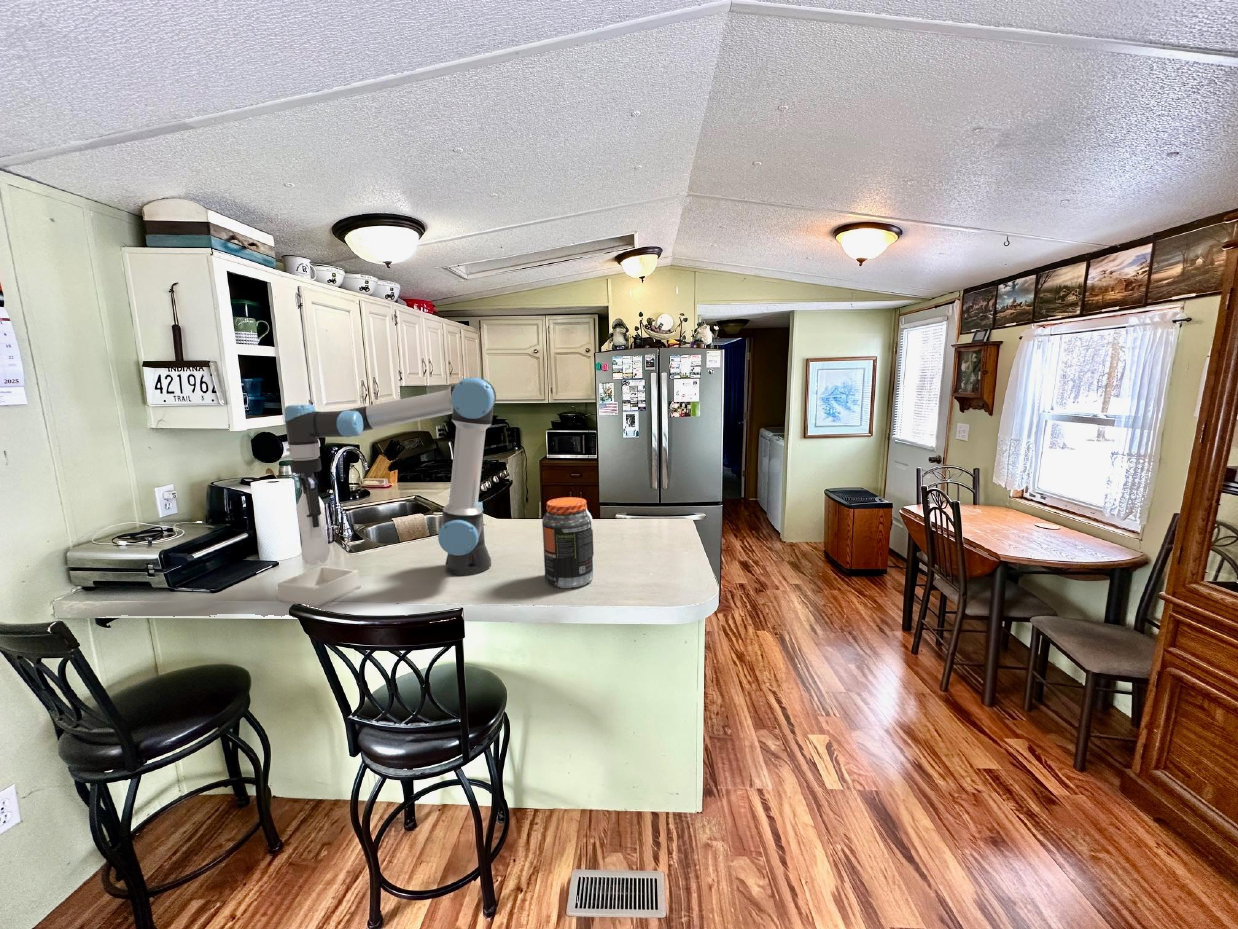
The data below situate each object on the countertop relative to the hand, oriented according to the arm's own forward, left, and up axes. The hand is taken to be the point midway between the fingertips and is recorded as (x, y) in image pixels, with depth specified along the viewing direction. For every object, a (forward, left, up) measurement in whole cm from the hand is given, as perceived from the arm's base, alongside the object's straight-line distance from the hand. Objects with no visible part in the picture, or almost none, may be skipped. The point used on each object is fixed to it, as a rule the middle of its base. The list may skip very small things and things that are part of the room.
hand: (313, 534), depth 149 cm
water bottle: (0, 0, -9) cm, 9 cm away
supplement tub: (-68, -32, -19) cm, 78 cm away
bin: (0, 0, -19) cm, 19 cm away
